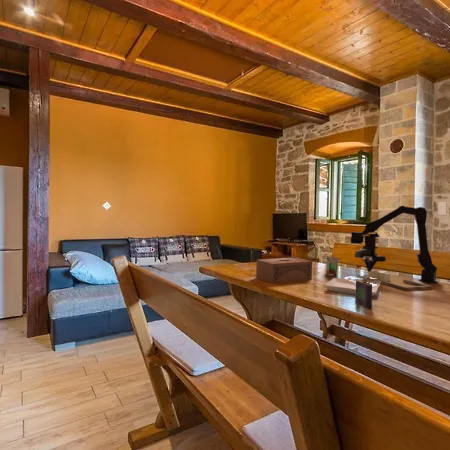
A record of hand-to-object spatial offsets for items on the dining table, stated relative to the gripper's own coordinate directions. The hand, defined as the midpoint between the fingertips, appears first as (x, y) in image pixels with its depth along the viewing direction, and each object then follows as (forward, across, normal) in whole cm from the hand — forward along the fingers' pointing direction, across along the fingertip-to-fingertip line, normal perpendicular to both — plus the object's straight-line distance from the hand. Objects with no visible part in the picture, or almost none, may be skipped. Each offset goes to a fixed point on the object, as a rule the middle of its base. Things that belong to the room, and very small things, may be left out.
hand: (369, 271), depth 182 cm
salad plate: (+3, +28, -32) cm, 43 cm away
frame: (+2, +25, 0) cm, 25 cm away
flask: (+3, +50, -44) cm, 67 cm away
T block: (+2, +10, 0) cm, 10 cm away
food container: (+3, -5, -20) cm, 21 cm away
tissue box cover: (+3, -2, -52) cm, 52 cm away
